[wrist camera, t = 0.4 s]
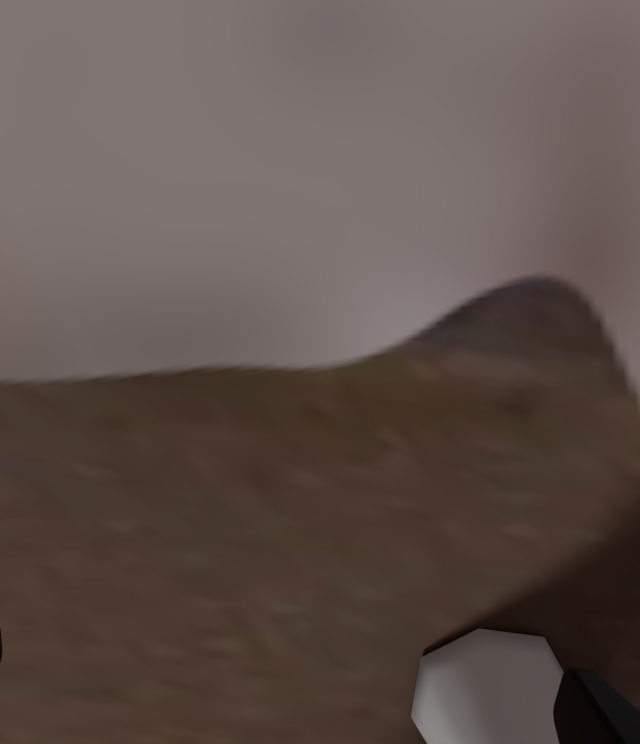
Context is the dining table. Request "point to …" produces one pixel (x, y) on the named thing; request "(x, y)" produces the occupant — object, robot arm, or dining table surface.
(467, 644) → the flask
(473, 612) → the dining table surface
